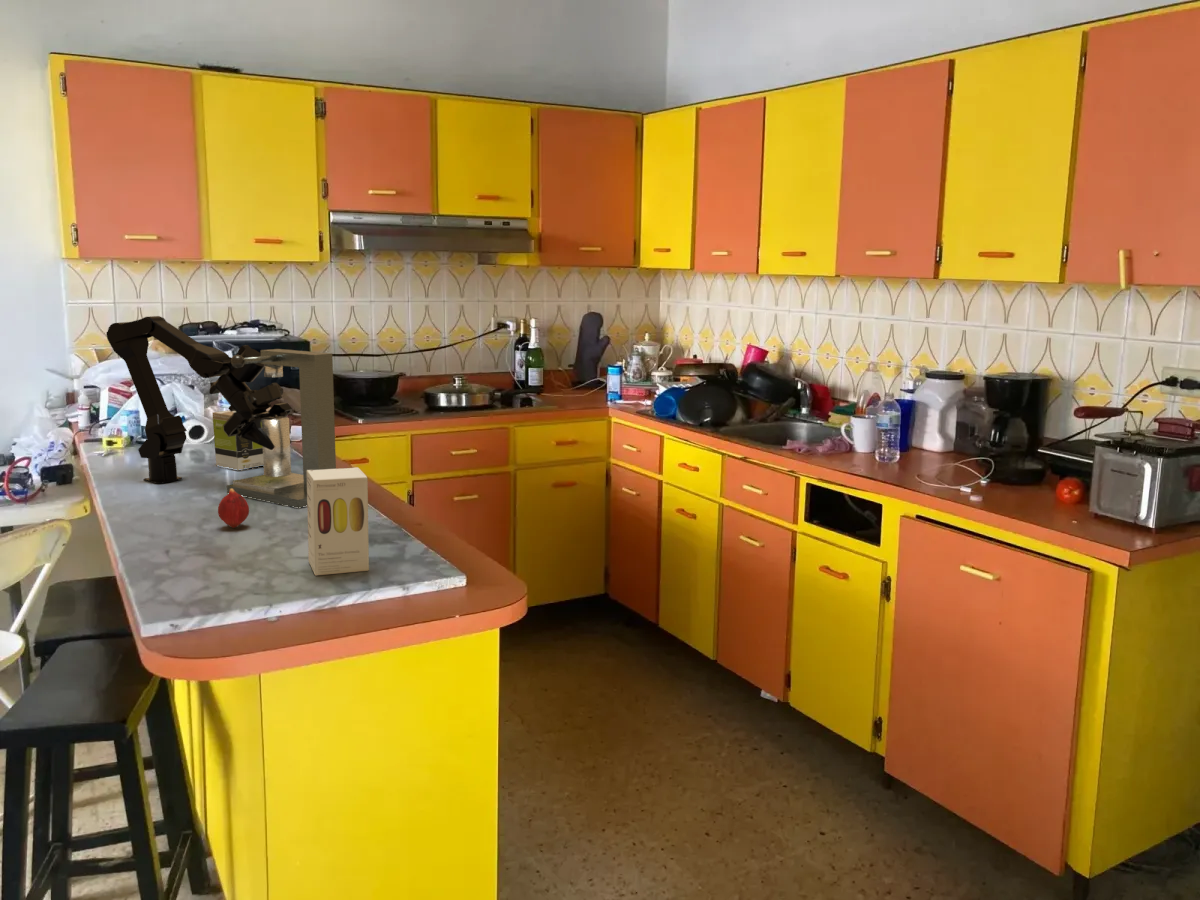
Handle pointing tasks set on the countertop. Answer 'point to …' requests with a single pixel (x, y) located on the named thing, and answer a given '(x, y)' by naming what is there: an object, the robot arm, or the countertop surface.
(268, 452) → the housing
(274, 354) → the arbor press
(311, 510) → the supplement box
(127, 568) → the countertop surface
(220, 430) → the tea box
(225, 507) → the onion
